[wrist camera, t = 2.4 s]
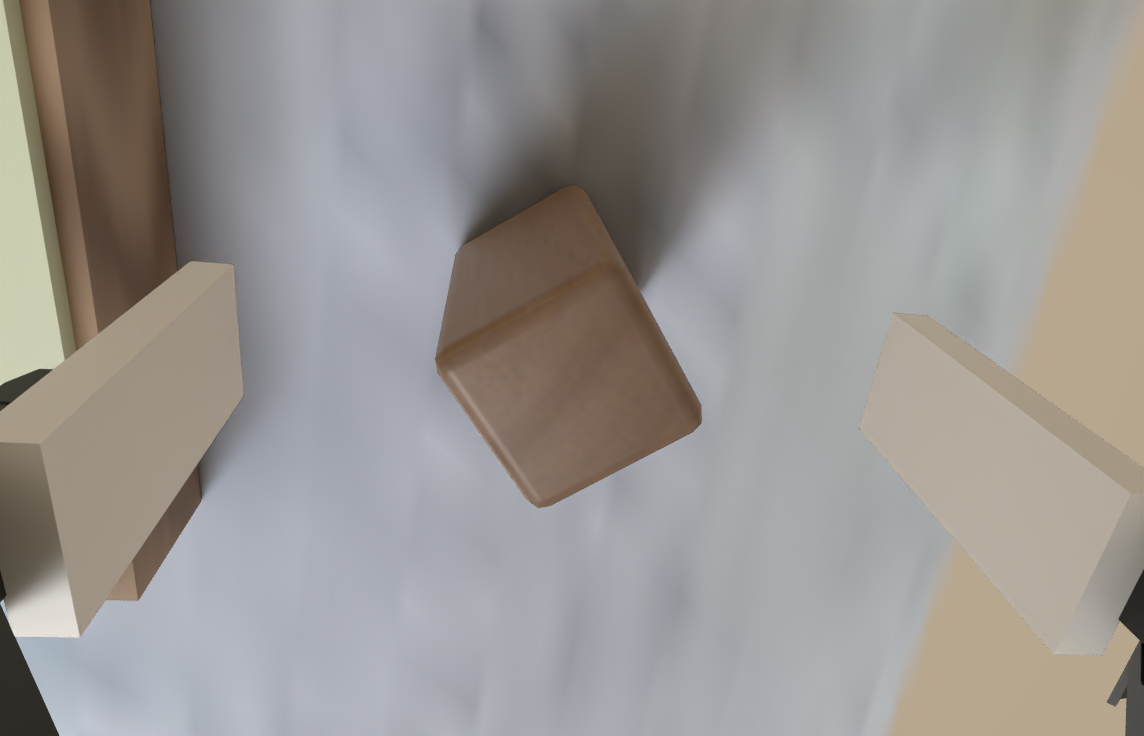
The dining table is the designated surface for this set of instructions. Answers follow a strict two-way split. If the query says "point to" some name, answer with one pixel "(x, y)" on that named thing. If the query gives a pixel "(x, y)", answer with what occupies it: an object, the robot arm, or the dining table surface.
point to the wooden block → (559, 351)
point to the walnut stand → (82, 197)
